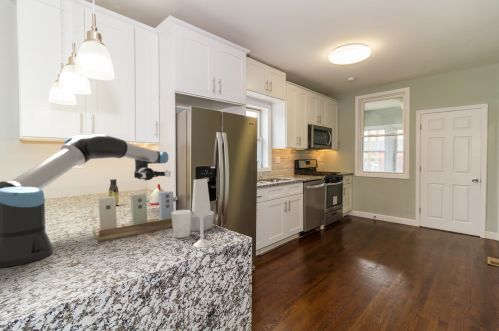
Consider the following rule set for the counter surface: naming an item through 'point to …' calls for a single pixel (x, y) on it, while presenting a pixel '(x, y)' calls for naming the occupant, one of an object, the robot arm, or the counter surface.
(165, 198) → the tile
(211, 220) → the ramekin
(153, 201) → the kitchen timer
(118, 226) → the oak board
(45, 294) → the counter surface
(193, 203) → the champagne flute
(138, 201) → the tile
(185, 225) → the white cup
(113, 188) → the sauce bottle
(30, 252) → the robot arm
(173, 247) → the counter surface
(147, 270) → the counter surface
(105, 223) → the tile
